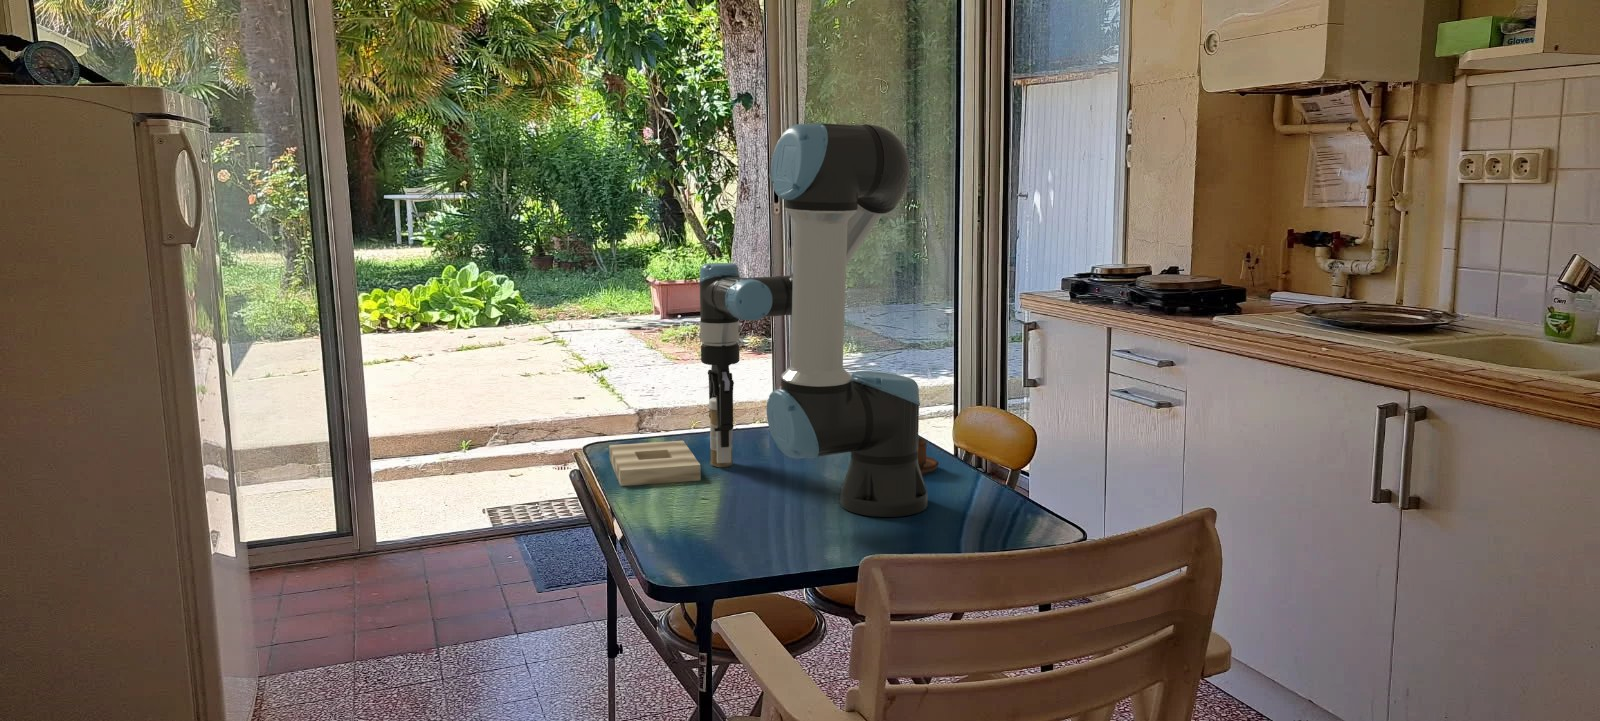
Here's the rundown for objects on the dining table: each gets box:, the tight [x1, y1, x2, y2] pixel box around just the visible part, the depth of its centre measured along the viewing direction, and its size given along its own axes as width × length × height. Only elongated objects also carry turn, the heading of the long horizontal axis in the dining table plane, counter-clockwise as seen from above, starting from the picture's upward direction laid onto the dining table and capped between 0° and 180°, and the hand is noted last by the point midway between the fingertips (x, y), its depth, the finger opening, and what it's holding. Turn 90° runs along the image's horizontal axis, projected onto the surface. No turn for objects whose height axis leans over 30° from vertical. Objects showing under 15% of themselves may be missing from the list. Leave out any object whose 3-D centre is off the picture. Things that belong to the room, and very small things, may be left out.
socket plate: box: [608, 440, 702, 487], centre depth 216 cm, size 20×15×3 cm
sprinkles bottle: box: [708, 397, 734, 468], centre depth 219 cm, size 5×5×14 cm
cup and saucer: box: [918, 437, 939, 475], centre depth 215 cm, size 12×12×6 cm
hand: (721, 459), depth 219 cm, fingers closed on sprinkles bottle, 4 cm apart
